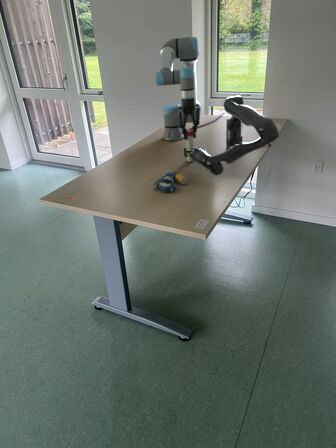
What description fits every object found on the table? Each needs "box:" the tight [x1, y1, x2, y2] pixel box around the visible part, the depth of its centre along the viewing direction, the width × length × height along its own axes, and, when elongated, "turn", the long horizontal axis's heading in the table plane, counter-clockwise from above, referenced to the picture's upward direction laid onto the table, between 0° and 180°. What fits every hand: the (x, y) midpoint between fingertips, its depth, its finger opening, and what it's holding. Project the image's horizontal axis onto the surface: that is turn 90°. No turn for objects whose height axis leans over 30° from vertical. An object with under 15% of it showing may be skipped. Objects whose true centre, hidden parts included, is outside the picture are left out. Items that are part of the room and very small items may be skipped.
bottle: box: [185, 136, 195, 163], centre depth 202 cm, size 5×5×18 cm
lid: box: [186, 128, 194, 136], centre depth 198 cm, size 5×6×2 cm
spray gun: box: [152, 170, 188, 193], centre depth 177 cm, size 21×4×15 cm
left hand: (189, 138), depth 200 cm, fingers closed on lid, 5 cm apart
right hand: (188, 148), depth 205 cm, fingers closed on bottle, 4 cm apart
